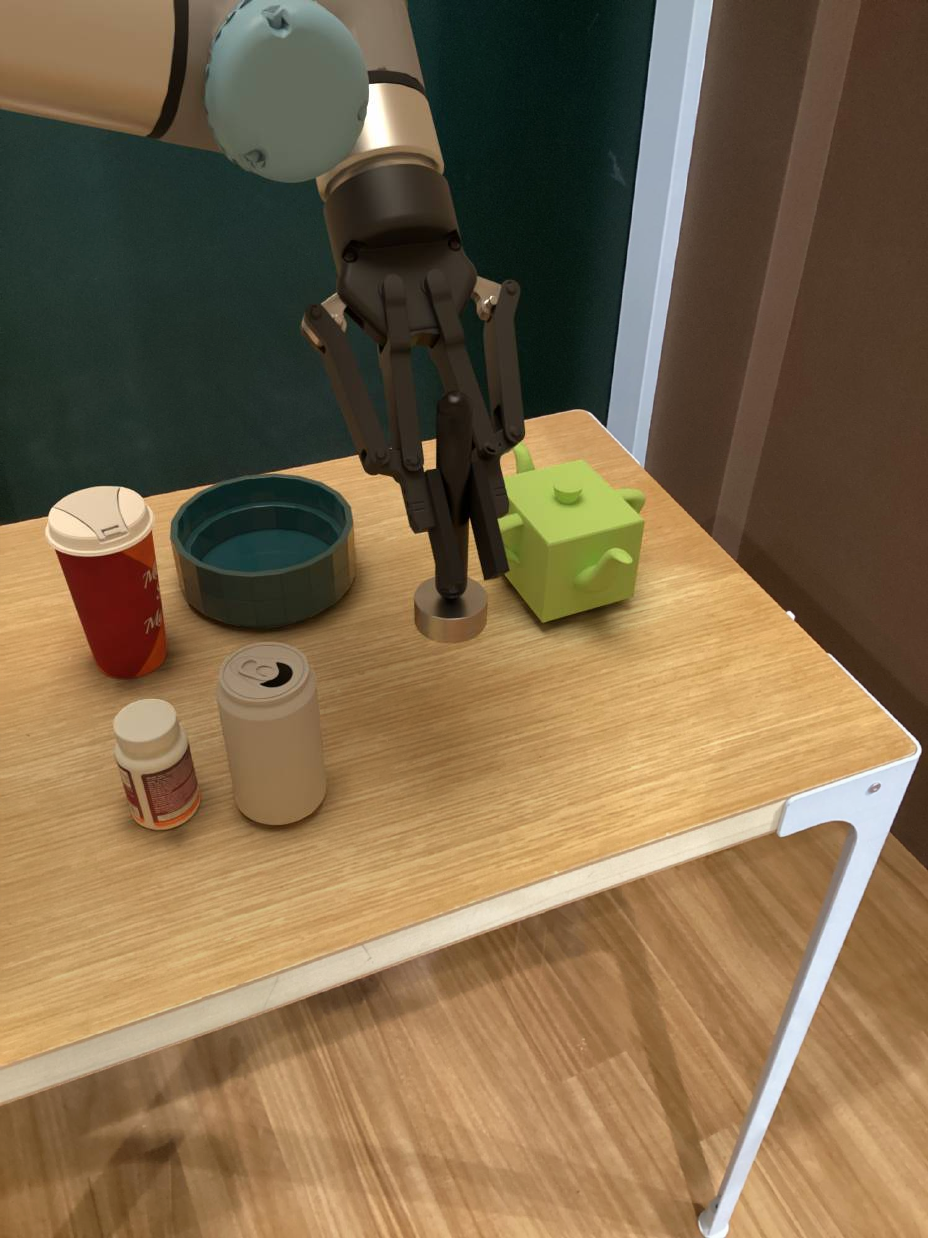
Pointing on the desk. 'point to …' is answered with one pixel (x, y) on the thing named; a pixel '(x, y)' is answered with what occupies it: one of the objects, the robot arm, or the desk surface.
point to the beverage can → (272, 732)
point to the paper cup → (112, 576)
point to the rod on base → (465, 604)
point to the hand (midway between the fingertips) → (474, 579)
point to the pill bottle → (155, 764)
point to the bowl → (264, 549)
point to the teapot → (569, 537)
